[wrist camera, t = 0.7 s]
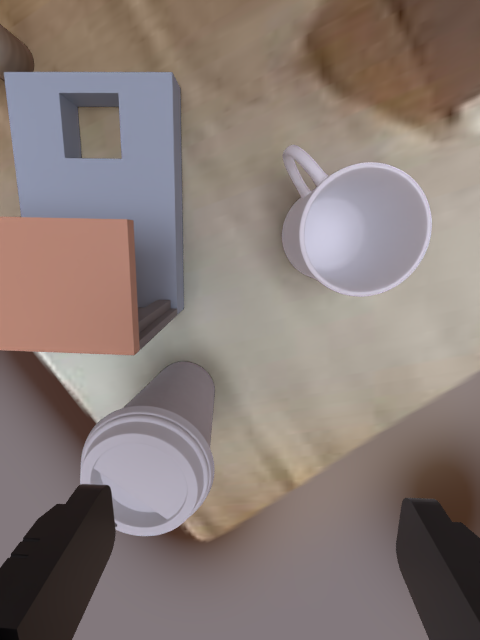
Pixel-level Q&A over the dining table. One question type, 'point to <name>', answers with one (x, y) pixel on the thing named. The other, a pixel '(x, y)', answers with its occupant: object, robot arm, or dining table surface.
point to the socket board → (92, 215)
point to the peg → (13, 54)
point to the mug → (355, 225)
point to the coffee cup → (156, 452)
